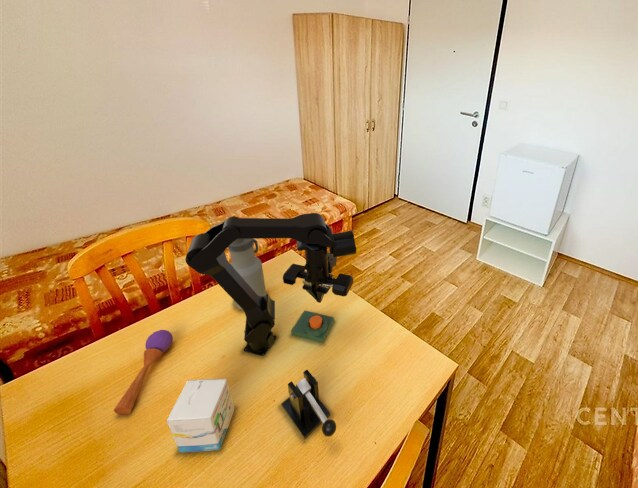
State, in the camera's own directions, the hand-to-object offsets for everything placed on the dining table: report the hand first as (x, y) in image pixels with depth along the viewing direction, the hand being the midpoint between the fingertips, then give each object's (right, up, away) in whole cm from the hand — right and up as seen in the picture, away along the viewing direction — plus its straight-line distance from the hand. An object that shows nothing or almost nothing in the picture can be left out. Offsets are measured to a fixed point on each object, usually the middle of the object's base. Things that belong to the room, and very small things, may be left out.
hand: (320, 301), depth 92 cm
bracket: (+1, -21, -16) cm, 26 cm away
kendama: (-42, -15, -10) cm, 46 cm away
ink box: (-20, -22, -20) cm, 36 cm away
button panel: (-3, -10, +5) cm, 12 cm away
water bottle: (-27, -5, +14) cm, 30 cm away
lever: (+4, -17, -21) cm, 27 cm away
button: (-2, -8, +3) cm, 8 cm away
